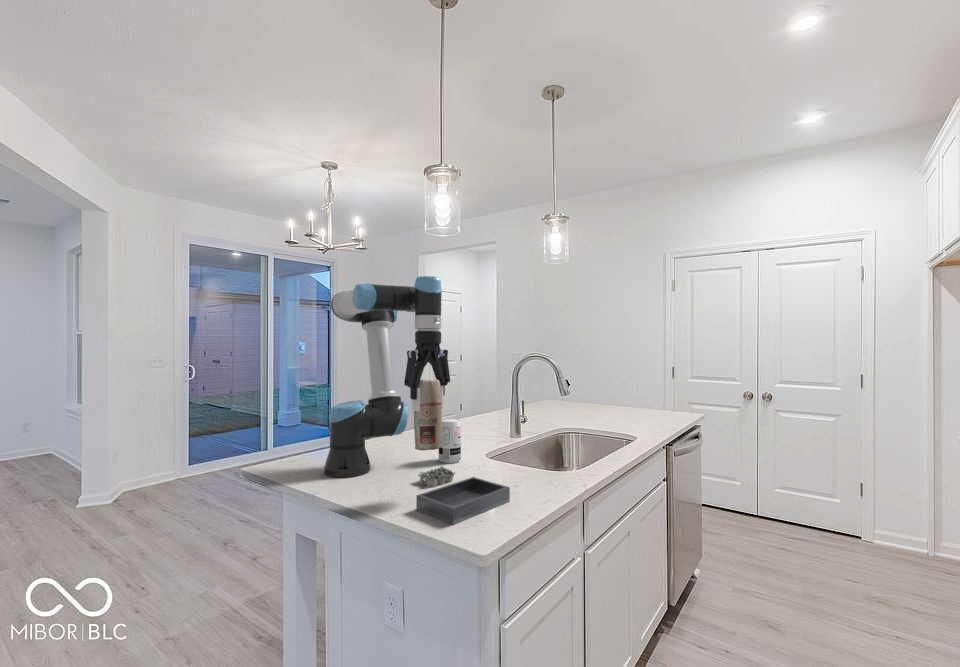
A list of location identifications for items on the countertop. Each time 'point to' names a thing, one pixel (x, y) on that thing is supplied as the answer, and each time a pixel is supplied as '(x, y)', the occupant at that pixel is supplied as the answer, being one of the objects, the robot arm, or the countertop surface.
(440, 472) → the potted succulents
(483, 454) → the countertop surface
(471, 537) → the countertop surface
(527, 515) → the countertop surface
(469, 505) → the grey soap tray
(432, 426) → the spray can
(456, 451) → the supplement can
